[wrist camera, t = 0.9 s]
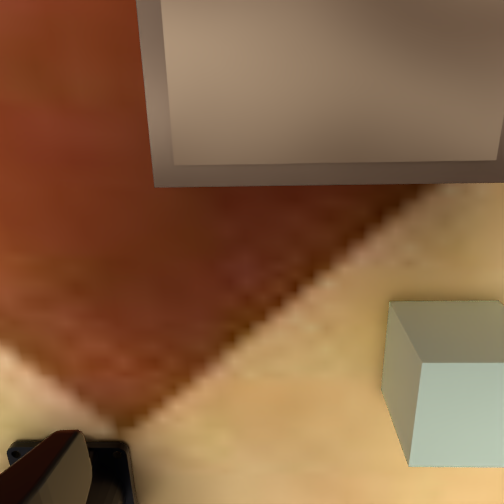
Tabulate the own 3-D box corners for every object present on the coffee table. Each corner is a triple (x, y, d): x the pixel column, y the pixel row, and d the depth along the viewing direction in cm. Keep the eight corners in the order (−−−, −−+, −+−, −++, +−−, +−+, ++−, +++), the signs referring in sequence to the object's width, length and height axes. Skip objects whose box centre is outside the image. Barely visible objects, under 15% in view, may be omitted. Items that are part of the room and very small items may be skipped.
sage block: (480, 388, 23) (534, 467, 19) (380, 388, 24) (408, 466, 19) (497, 299, 22) (561, 362, 17) (389, 300, 22) (422, 362, 17)
